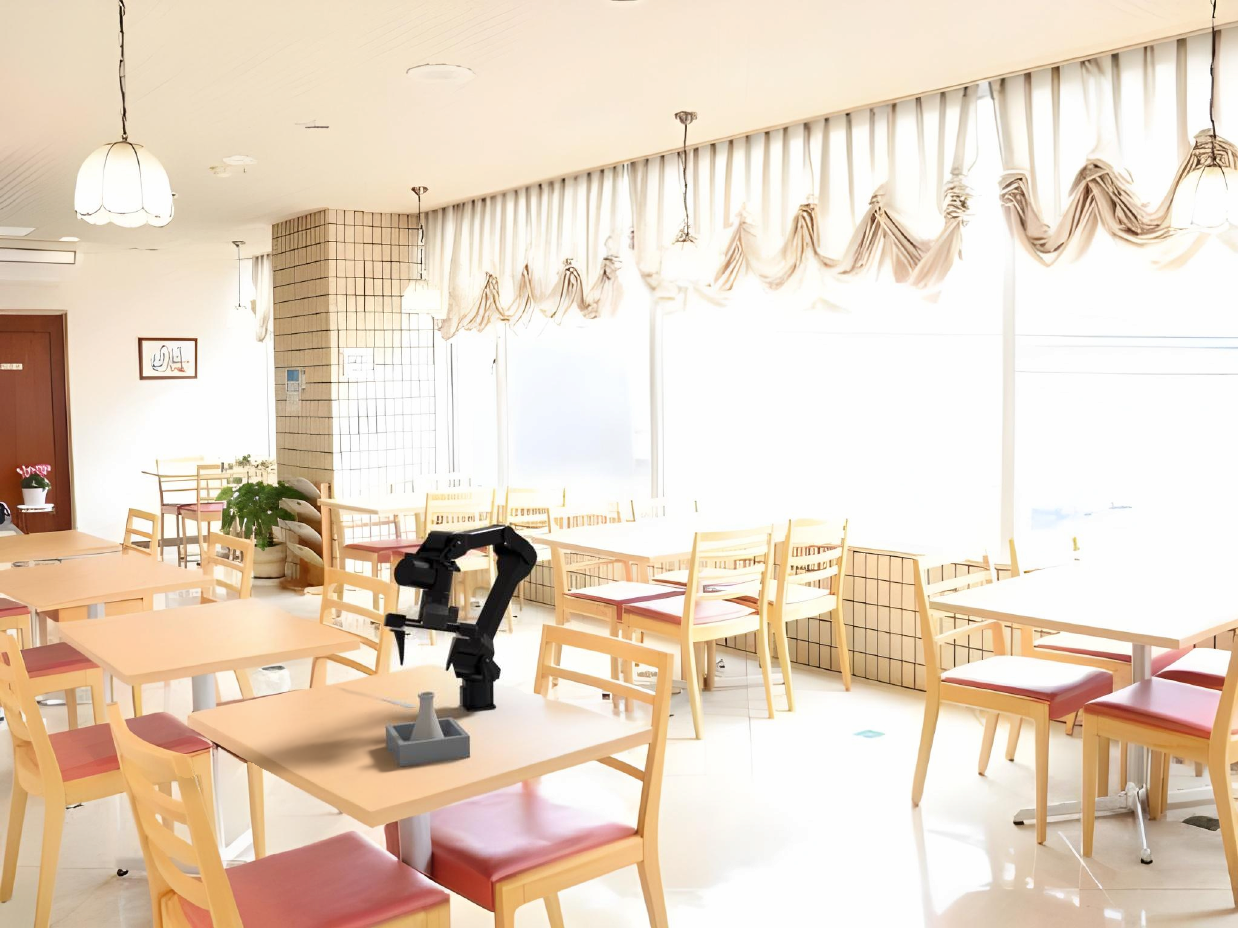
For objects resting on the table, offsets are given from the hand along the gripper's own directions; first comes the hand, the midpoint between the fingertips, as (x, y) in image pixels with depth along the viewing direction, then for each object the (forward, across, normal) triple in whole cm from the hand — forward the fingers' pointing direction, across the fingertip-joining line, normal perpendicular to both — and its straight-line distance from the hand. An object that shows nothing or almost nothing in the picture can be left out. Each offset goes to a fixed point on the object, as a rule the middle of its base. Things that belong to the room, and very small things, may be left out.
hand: (424, 668), depth 213 cm
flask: (+14, +1, -14) cm, 19 cm away
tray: (+14, +2, -14) cm, 20 cm away
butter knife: (+10, -7, +27) cm, 30 cm away
